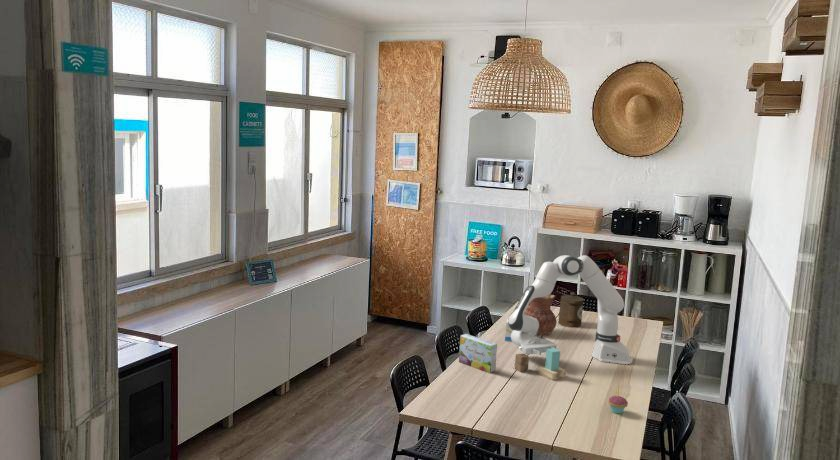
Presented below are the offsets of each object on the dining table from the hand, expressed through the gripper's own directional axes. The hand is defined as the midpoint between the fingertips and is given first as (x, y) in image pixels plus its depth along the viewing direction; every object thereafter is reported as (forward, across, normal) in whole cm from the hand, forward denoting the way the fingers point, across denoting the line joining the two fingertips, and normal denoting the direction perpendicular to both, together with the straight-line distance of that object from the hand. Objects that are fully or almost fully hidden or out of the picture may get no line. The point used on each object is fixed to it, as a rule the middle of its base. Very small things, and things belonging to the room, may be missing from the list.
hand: (547, 352), depth 348 cm
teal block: (+5, 0, +7) cm, 8 cm away
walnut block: (-7, -11, +11) cm, 17 cm away
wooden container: (-69, +72, +11) cm, 100 cm away
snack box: (-19, -31, +11) cm, 38 cm away
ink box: (-53, +15, +11) cm, 56 cm away
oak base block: (+5, 0, +11) cm, 12 cm away
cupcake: (+52, 0, +11) cm, 54 cm away
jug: (-60, +39, +11) cm, 72 cm away
